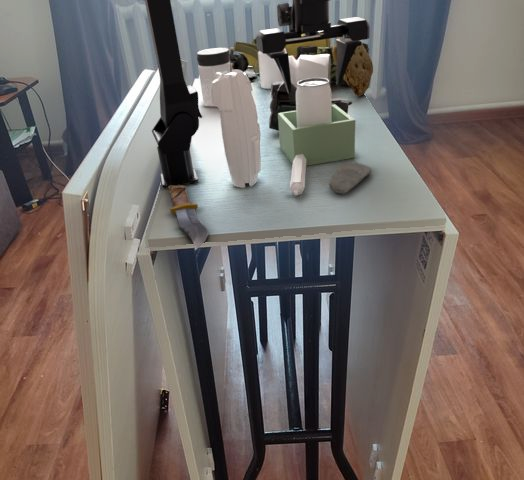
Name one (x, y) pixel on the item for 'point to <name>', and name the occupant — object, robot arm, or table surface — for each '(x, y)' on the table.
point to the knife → (187, 215)
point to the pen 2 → (338, 100)
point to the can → (313, 102)
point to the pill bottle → (268, 70)
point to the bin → (318, 138)
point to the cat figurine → (288, 103)
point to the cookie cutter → (248, 51)
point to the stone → (348, 176)
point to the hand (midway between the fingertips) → (314, 89)
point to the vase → (309, 68)
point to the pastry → (357, 69)
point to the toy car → (324, 50)
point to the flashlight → (238, 125)
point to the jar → (211, 69)
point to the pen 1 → (253, 78)
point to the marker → (298, 175)
